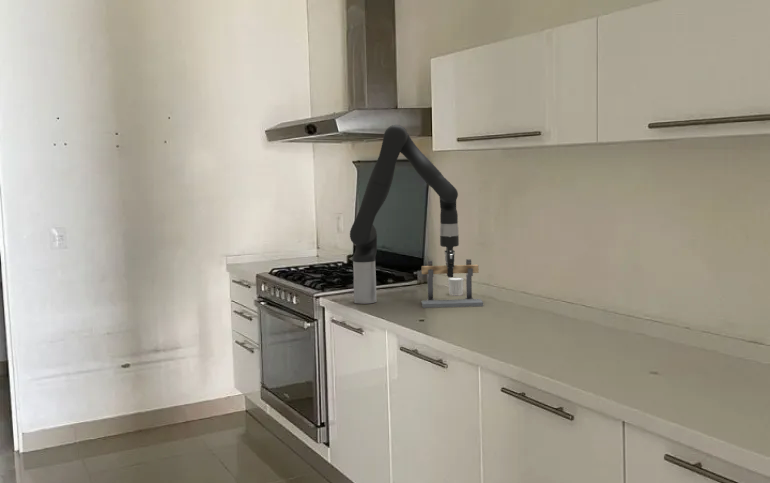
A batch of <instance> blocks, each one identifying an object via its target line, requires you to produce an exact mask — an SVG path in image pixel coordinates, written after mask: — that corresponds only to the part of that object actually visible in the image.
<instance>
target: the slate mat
mask: <svg viewBox="0 0 770 483" xmlns="http://www.w3.org/2000/svg"><path fill="white" fill-rule="evenodd" d="M469 306H471V307H484V302H483V300H482V299H481V298H473V299H465V298H464V299H463V298H461V299H459V298H458V299H434V300H427V299H426V300H425V299H423V300H421V307H422V308H423V309H424V308H425V309H427V308H428V309H429V308H430V309H431V308H432V309H433V308H461V307H462V308H463V307H464V308H466V307H467V308H470V307H469Z"/></svg>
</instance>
